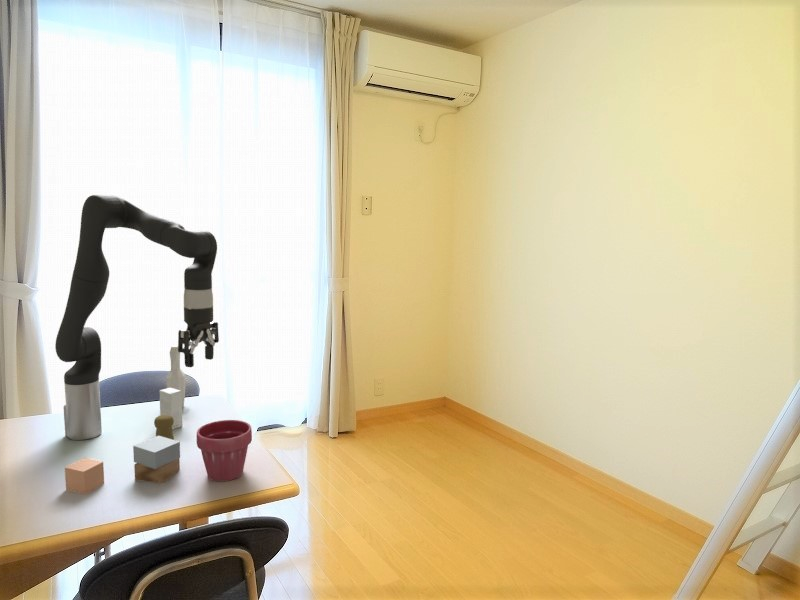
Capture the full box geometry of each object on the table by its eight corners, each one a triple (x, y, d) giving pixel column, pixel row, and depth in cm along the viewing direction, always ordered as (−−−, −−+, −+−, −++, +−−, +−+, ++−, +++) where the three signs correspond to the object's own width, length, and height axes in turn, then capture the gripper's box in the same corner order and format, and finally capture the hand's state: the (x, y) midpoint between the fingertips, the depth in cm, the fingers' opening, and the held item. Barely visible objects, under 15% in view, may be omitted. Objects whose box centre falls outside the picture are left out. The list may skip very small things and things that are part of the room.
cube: (66, 490, 143) (64, 467, 142) (86, 479, 148) (84, 457, 147) (84, 494, 141) (83, 471, 140) (104, 483, 147) (103, 461, 146)
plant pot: (195, 466, 157) (194, 422, 155) (247, 459, 163) (246, 416, 161) (200, 490, 145) (198, 442, 142) (256, 481, 150) (256, 435, 148)
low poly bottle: (163, 408, 201) (161, 347, 197) (173, 402, 207) (171, 343, 203) (180, 410, 200) (178, 349, 196) (189, 404, 206) (188, 344, 202)
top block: (133, 462, 150) (133, 445, 149) (159, 451, 157) (158, 435, 156) (155, 469, 146) (154, 452, 145) (180, 457, 153) (179, 441, 152)
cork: (162, 458, 162) (161, 421, 160) (149, 453, 165) (147, 416, 163) (180, 451, 167) (179, 415, 165) (167, 446, 170) (166, 410, 168)
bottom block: (135, 481, 149) (134, 464, 148) (152, 467, 157) (152, 452, 156) (163, 484, 148) (162, 467, 147) (179, 470, 156) (179, 454, 155)
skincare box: (183, 426, 186) (182, 390, 184) (171, 430, 182) (170, 393, 180) (171, 421, 189) (170, 387, 187) (159, 425, 185) (158, 390, 184)
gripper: (203, 300, 163) (204, 355, 165) (168, 307, 149) (170, 367, 152) (226, 302, 160) (226, 358, 163) (193, 310, 147) (194, 371, 150)
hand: (199, 362), depth 157 cm, fingers open, 8 cm apart
